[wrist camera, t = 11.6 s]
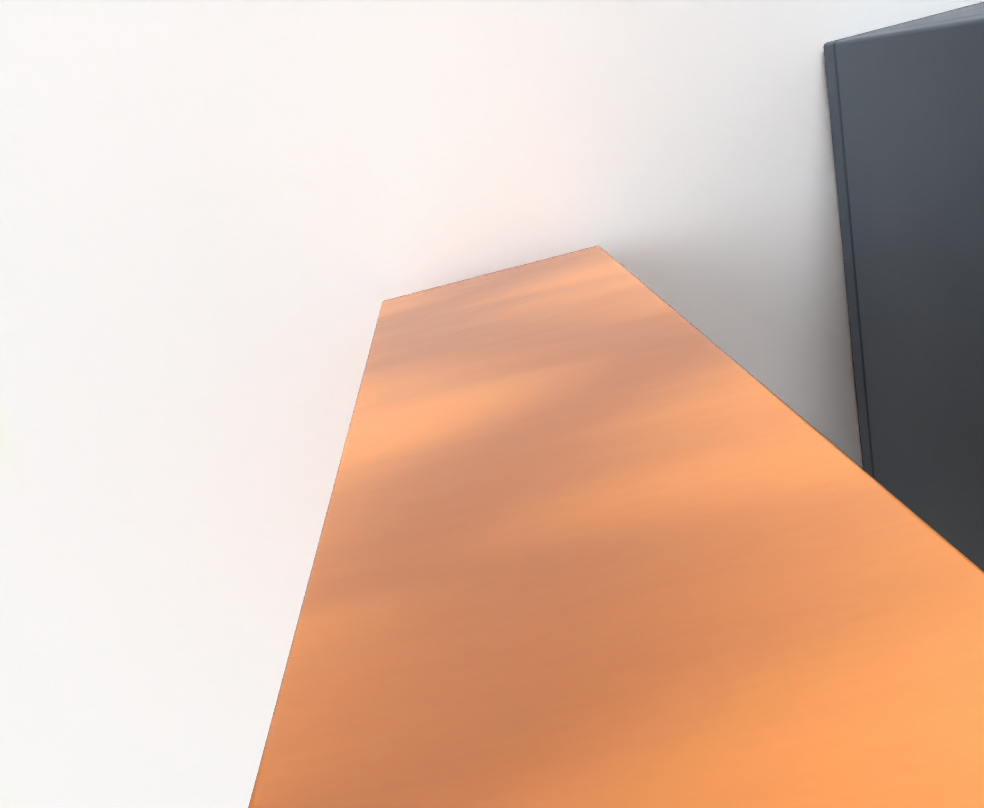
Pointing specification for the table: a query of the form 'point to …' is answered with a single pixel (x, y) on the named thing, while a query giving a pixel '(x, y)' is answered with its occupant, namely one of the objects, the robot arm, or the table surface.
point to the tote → (916, 258)
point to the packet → (613, 580)
